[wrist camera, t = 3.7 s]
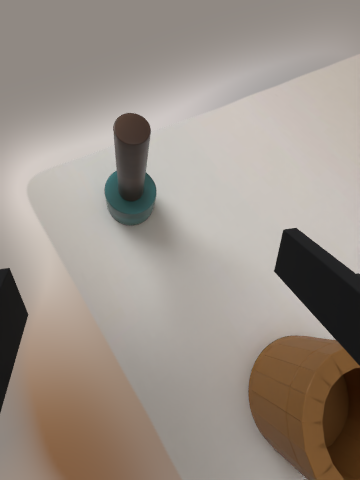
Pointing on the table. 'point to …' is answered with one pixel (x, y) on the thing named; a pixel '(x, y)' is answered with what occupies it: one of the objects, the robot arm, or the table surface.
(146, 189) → the wooden peg on base
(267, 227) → the table surface
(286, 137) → the table surface
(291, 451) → the wooden pot
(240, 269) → the table surface
